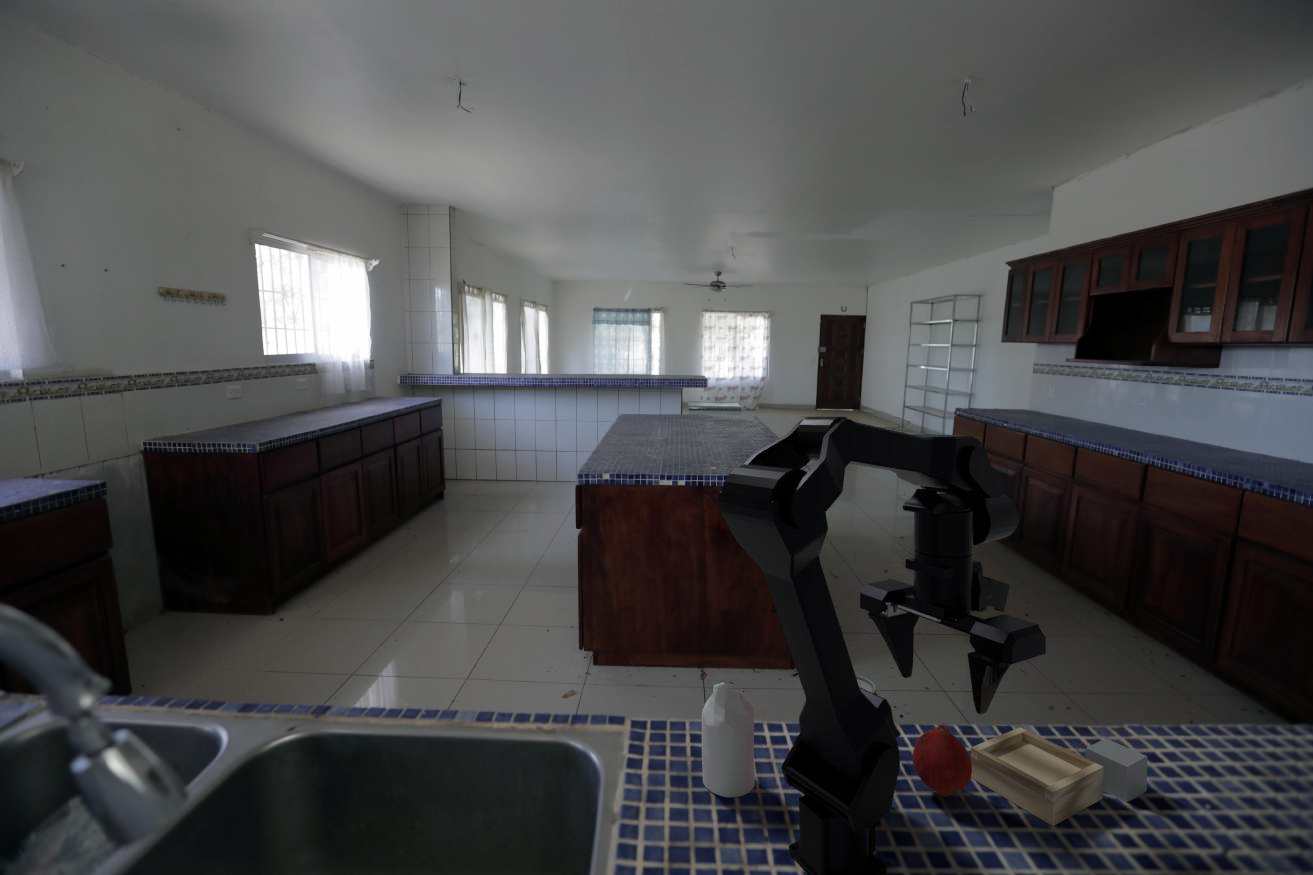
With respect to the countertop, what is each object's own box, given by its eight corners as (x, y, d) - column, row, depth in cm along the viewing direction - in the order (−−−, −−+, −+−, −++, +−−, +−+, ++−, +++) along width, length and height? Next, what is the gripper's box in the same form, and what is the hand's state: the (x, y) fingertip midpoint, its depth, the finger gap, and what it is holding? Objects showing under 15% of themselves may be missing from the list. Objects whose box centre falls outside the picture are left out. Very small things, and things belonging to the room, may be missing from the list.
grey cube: (1126, 803, 63) (1127, 766, 63) (1085, 782, 67) (1085, 747, 66) (1146, 791, 65) (1147, 756, 65) (1105, 772, 68) (1105, 738, 68)
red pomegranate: (910, 802, 64) (910, 730, 63) (914, 772, 69) (914, 705, 68) (971, 819, 61) (972, 743, 61) (971, 786, 66) (971, 716, 66)
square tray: (1052, 825, 60) (1053, 792, 60) (970, 777, 68) (970, 747, 68) (1103, 798, 64) (1103, 766, 64) (1019, 755, 72) (1020, 726, 72)
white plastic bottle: (754, 671, 69) (752, 694, 64) (756, 771, 70) (753, 802, 64) (703, 667, 71) (696, 689, 65) (705, 765, 71) (698, 795, 66)
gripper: (1080, 560, 59) (1078, 714, 60) (921, 528, 76) (921, 649, 76) (1009, 576, 54) (1007, 743, 55) (856, 538, 71) (856, 666, 71)
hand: (941, 693), depth 64 cm, fingers open, 9 cm apart
